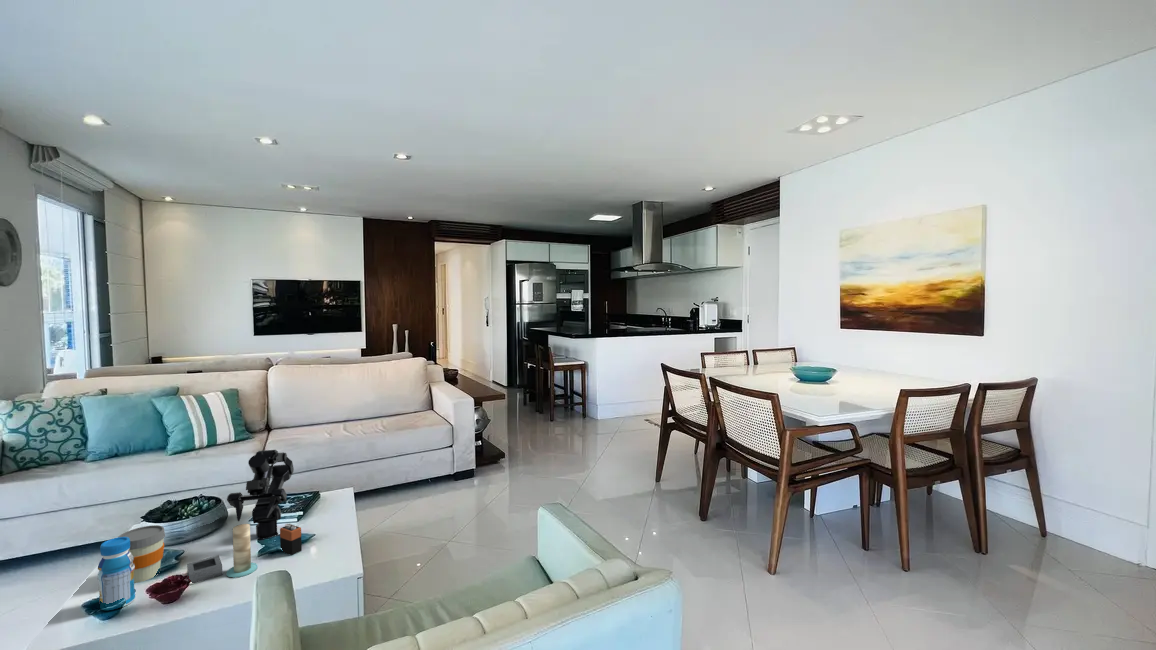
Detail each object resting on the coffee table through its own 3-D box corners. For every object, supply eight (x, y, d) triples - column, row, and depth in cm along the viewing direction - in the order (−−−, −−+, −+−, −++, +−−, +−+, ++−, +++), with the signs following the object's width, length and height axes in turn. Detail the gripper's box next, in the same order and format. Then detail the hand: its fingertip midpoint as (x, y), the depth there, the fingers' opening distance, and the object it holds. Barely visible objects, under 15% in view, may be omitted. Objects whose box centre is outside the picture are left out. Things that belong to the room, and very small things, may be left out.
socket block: (219, 564, 177) (218, 554, 176) (222, 574, 170) (222, 564, 170) (187, 573, 171) (186, 563, 170) (189, 584, 164) (189, 574, 164)
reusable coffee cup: (141, 565, 176) (140, 524, 175) (175, 566, 175) (174, 525, 175) (106, 585, 163) (105, 541, 162) (143, 586, 163) (142, 542, 162)
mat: (255, 561, 179) (255, 559, 179) (259, 571, 172) (259, 569, 172) (224, 570, 173) (224, 568, 173) (228, 581, 166) (228, 579, 166)
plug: (245, 564, 176) (244, 522, 175) (254, 567, 174) (253, 525, 173) (230, 570, 171) (229, 528, 171) (239, 574, 169) (238, 531, 169)
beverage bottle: (113, 614, 148) (111, 549, 147) (91, 610, 150) (88, 546, 149) (143, 597, 157) (140, 536, 156) (121, 594, 158) (118, 533, 157)
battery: (291, 546, 190) (290, 521, 189) (302, 550, 187) (301, 525, 186) (279, 551, 186) (279, 525, 185) (291, 556, 183) (290, 529, 182)
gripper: (227, 472, 185) (216, 513, 174) (283, 468, 190) (275, 507, 180) (236, 485, 192) (225, 525, 182) (290, 481, 198) (282, 519, 188)
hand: (252, 519), depth 183 cm, fingers open, 9 cm apart
